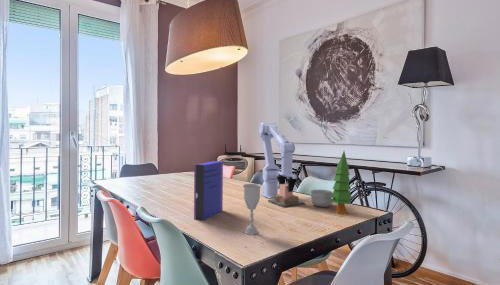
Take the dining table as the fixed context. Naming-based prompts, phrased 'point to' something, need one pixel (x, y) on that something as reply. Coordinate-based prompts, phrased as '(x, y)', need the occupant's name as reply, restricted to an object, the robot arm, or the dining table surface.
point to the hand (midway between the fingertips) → (286, 190)
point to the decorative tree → (341, 186)
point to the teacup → (321, 197)
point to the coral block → (285, 191)
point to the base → (286, 201)
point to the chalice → (251, 203)
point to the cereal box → (208, 189)
